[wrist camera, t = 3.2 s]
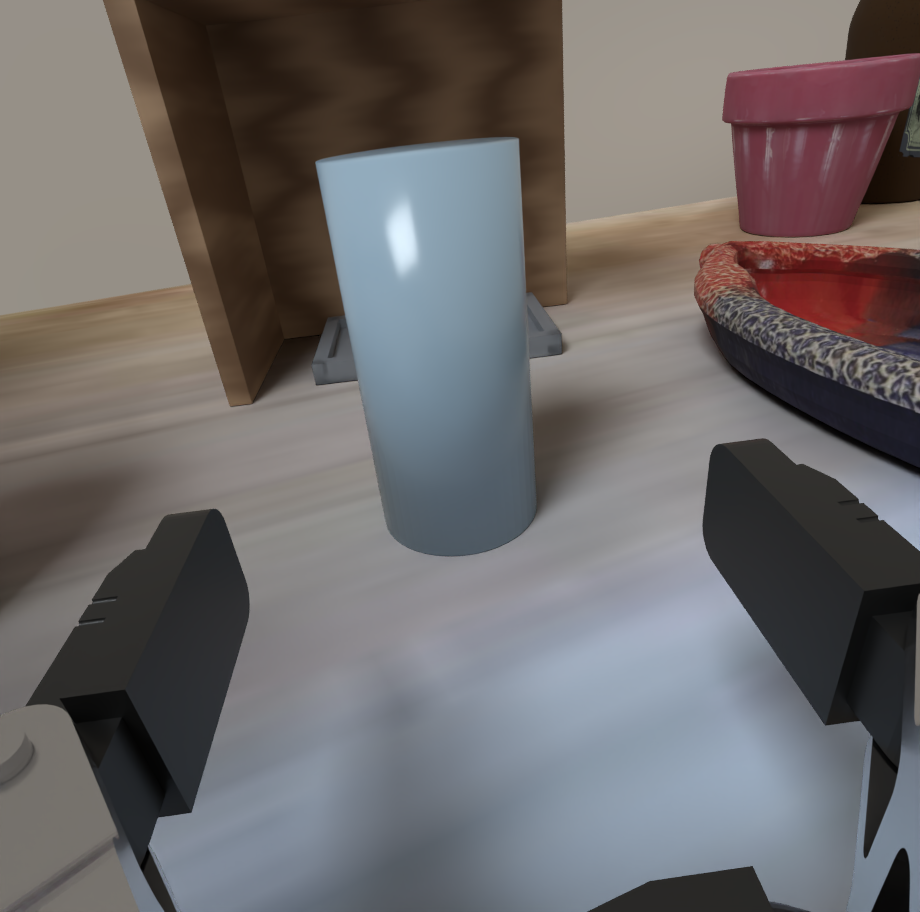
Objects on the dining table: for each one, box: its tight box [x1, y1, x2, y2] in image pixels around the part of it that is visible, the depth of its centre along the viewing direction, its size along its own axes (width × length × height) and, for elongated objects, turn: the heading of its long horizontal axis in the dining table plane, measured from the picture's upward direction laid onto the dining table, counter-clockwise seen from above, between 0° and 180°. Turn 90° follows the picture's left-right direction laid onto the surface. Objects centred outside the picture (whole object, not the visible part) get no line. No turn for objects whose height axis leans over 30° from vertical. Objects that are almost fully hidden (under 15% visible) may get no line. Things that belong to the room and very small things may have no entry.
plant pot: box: [722, 53, 920, 237], centre depth 54 cm, size 14×14×13 cm
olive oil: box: [845, 0, 920, 203], centre depth 59 cm, size 11×11×25 cm
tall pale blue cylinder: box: [315, 137, 537, 556], centre depth 20 cm, size 6×6×12 cm
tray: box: [312, 292, 562, 385], centre depth 39 cm, size 14×9×1 cm, turn 95°
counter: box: [103, 0, 567, 406], centre depth 34 cm, size 21×12×20 cm, turn 95°
